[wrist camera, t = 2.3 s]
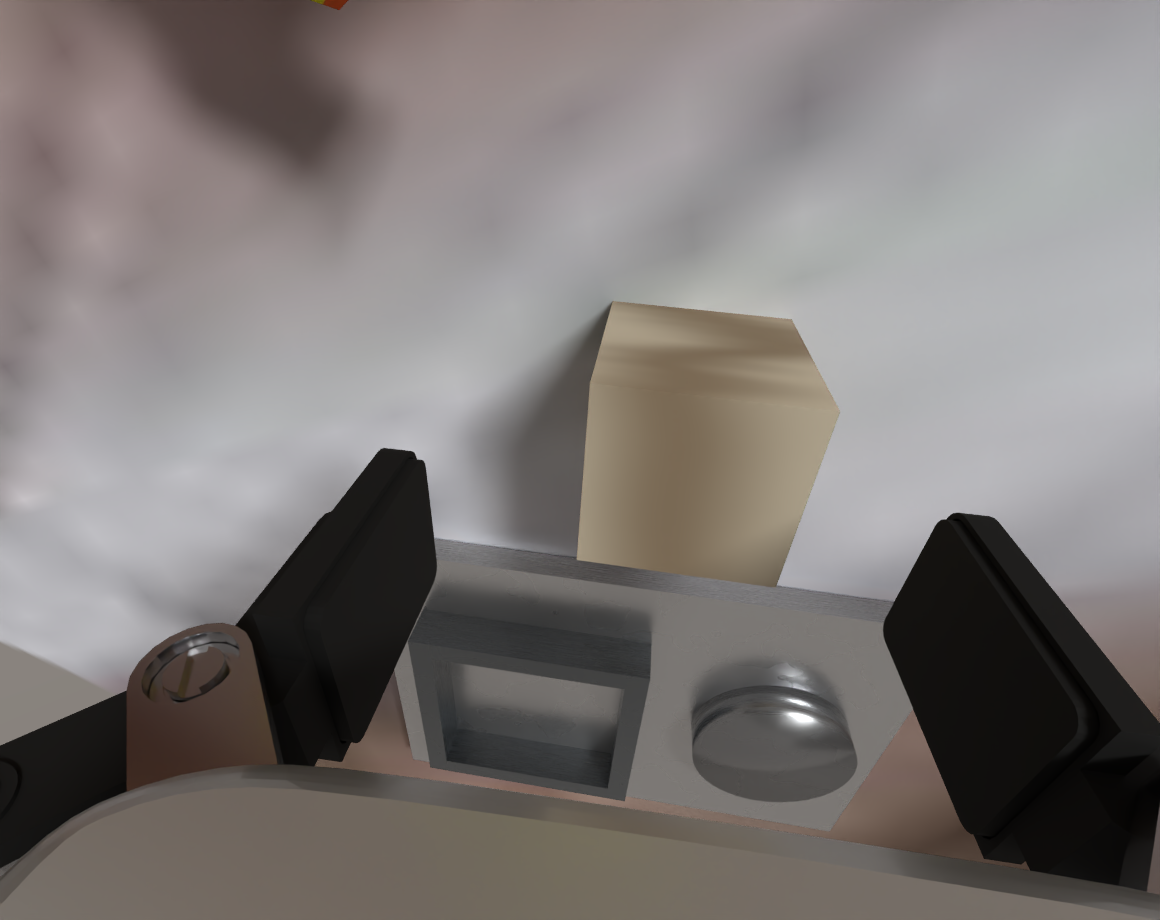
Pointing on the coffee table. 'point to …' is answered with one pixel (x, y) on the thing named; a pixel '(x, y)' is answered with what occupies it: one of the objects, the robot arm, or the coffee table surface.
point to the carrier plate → (649, 684)
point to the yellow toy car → (332, 3)
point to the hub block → (700, 443)
